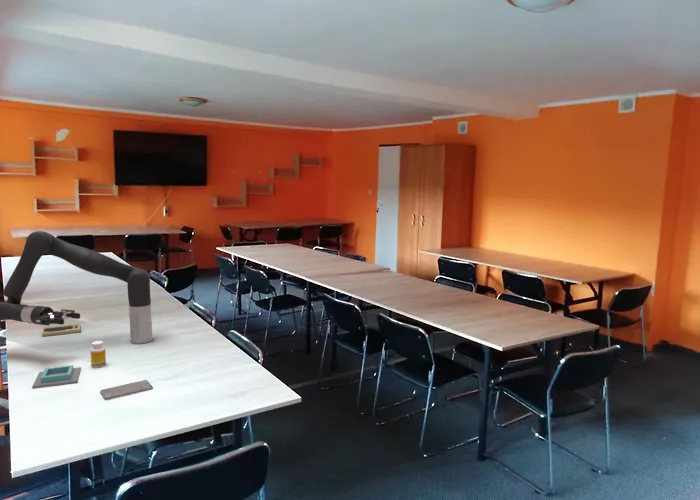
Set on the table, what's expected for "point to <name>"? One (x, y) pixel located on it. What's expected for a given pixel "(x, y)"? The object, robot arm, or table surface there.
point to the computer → (61, 330)
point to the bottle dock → (57, 376)
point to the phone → (125, 389)
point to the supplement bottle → (97, 354)
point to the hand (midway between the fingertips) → (71, 318)
